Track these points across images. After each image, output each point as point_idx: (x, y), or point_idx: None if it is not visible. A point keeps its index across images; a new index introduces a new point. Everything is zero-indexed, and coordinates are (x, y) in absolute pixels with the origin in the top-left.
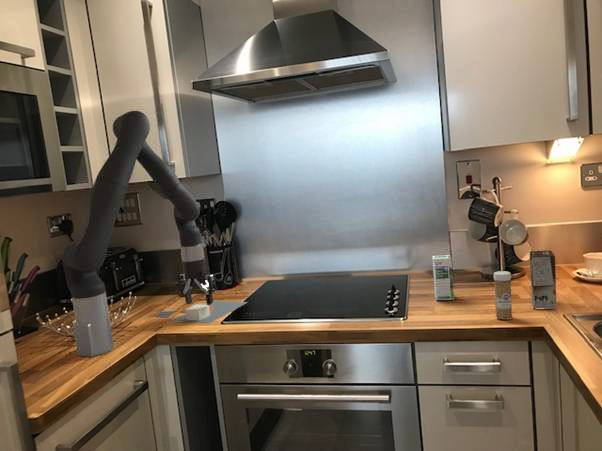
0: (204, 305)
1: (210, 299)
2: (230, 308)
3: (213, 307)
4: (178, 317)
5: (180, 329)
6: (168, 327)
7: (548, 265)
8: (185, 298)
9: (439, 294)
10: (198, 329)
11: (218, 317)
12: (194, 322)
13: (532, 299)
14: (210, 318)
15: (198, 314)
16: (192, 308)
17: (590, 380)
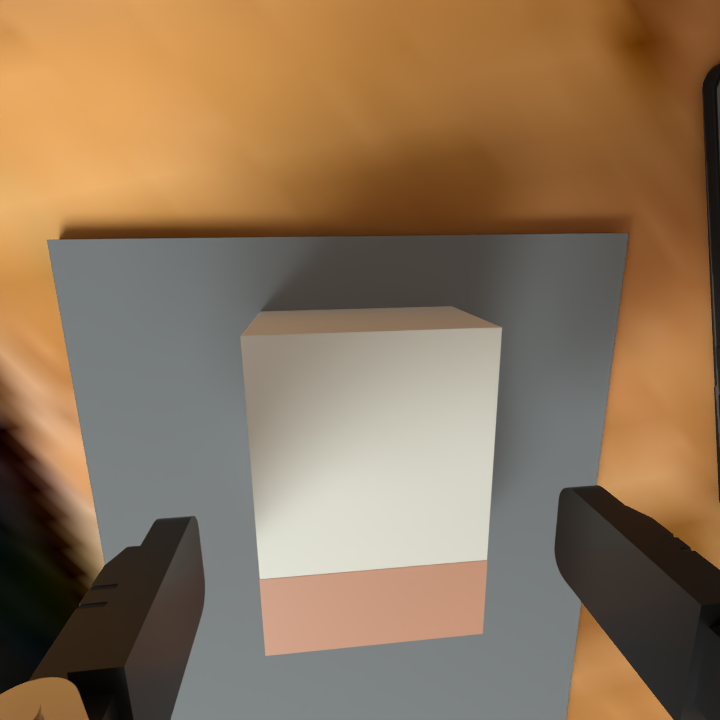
0: (316, 549)
1: (80, 609)
2: (202, 711)
3: (412, 688)
4: (602, 352)
5: (322, 9)
6: (535, 54)
7: None
8: (681, 546)
9: None
10: (68, 55)
11: (106, 456)
12: (280, 238)
13: None
14: (179, 405)
15: (260, 324)
16: (413, 392)
17: None
